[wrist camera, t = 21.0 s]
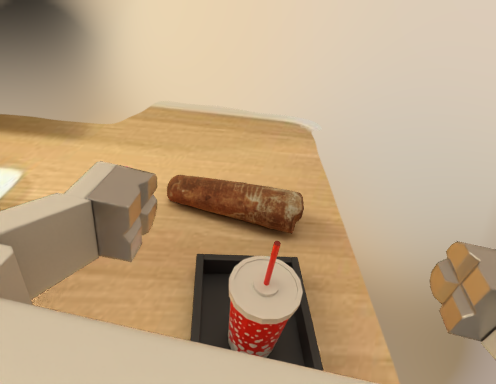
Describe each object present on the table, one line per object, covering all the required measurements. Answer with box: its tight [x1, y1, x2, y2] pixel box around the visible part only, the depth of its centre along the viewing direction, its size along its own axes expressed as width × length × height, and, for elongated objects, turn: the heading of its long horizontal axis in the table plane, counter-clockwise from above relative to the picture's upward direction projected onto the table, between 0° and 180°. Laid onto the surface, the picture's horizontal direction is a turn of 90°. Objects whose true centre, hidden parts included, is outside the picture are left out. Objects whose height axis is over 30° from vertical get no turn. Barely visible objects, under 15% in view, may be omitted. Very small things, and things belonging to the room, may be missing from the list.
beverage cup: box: [228, 241, 303, 358], centre depth 28 cm, size 6×6×14 cm
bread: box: [167, 175, 304, 233], centre depth 46 cm, size 6×19×6 cm, turn 76°
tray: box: [191, 254, 323, 371], centre depth 32 cm, size 12×17×3 cm
